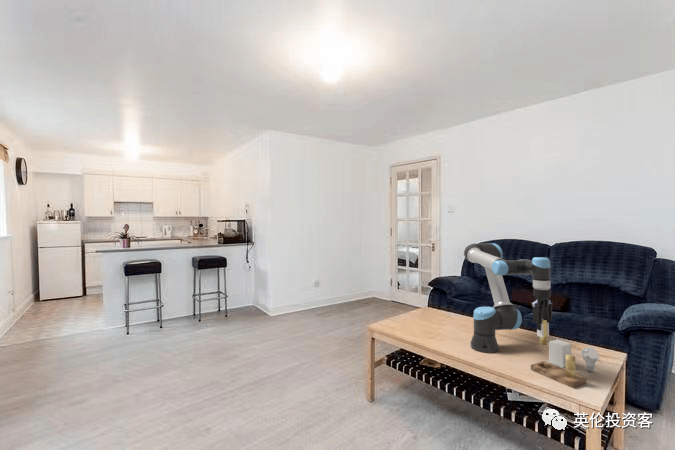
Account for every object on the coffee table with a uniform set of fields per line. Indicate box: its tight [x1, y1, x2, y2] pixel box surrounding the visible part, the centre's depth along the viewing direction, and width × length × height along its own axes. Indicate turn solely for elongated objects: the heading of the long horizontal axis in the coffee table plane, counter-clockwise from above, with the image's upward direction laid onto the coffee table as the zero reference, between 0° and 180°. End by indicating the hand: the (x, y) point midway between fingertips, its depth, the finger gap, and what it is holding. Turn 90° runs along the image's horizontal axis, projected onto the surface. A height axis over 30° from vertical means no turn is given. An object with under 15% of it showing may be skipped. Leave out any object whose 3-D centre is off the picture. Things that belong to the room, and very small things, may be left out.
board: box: [530, 354, 588, 389], centre depth 157 cm, size 20×10×12 cm, turn 24°
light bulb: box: [581, 346, 600, 373], centre depth 161 cm, size 7×7×12 cm
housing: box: [548, 338, 572, 369], centre depth 170 cm, size 7×7×11 cm
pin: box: [538, 318, 549, 346], centre depth 163 cm, size 4×4×12 cm
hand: (543, 335), depth 163 cm, fingers closed on pin, 3 cm apart
